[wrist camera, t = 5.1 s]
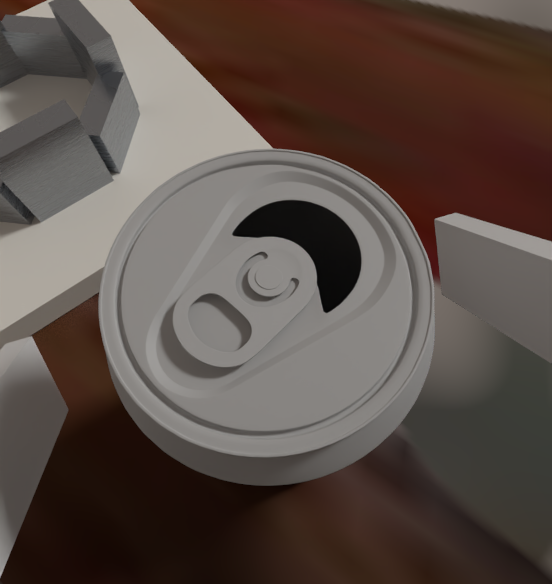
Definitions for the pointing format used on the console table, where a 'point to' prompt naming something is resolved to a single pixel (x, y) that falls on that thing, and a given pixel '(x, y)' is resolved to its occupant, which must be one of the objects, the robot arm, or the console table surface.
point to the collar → (62, 113)
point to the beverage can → (267, 316)
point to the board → (126, 186)
